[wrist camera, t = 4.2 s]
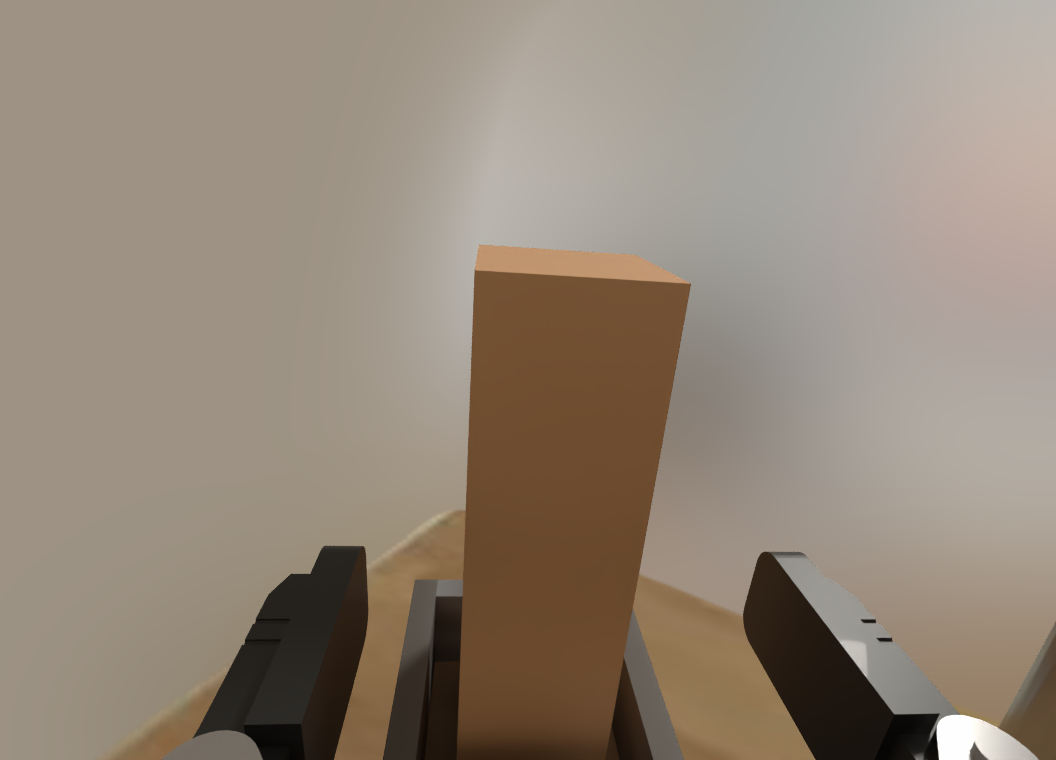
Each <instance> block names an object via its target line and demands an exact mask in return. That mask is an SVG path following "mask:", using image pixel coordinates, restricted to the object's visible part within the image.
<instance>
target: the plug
mask: <svg viewBox="0 0 1056 760" xmlns="http://www.w3.org/2000/svg"><path fill="white" fill-rule="evenodd" d="M690 286H691V284H690V283H688V282H687V281H685V280H683V279H681V278H679V277H677V276H675V275H673V274H671V273H669V272H667V271H665V270H663V269H661V268H660V267H658V266H656V265H654V264H652V263H650V262H648V261H646V260H644V259H642V258H640V257H638V256H636V255H626V254H610V253H595V252H580V251H566V250H550V249H536V248H520V247H506V246H491V245H479V248H478V254H477V261H476V266H475V277H474V304H473V332H472V358H471V385H470V386H471V387H470V413H469V438H468V466H467V492H466V519H465V546H464V573H463V600H462V627H461V654H460V681H459V707H458V734H457V760H605V759H606V753H607V747H608V742H609V736H610V731H611V725H612V720H613V714H614V709H615V703H616V697H617V692H618V686H619V681H620V675H621V670H622V664H623V659H624V653H625V647H626V642H627V636H628V631H629V625H630V620H631V614H632V609H633V603H634V597H635V592H636V586H637V581H638V575H639V570H640V564H641V559H642V553H643V547H644V542H645V536H646V531H647V525H648V520H649V514H650V509H651V503H652V497H653V492H654V486H655V480H656V475H657V470H658V464H659V458H660V452H661V448H662V442H663V436H664V431H665V424H666V420H667V414H668V409H669V403H670V398H671V392H672V386H673V381H674V375H675V370H676V364H677V359H678V353H679V348H680V342H681V336H682V331H683V325H684V320H685V314H686V309H687V303H688V297H689V292H690Z"/></svg>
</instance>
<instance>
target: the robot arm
mask: <svg viewBox="0 0 1056 760" xmlns="http://www.w3.org/2000/svg"><path fill="white" fill-rule="evenodd" d="M743 621H744V628H745V632H746V636H747V638H748V641H749V643H750V645H751V646H752V648H753V650H754V652H755V653H756V655H757V657H758V659H759V661H760V662H761V664H762V666H763V668H764V669H765V671H766V673H767V675H768V676H769V678H770V680H771V682H772V683H773V685H774V687H775V689H776V691H777V692H778V694H779V696H780V698H781V699H782V701H783V703H784V705H785V706H786V708H787V710H788V712H789V713H790V715H791V717H792V719H793V721H794V722H795V724H796V726H797V728H798V729H799V731H800V733H801V735H802V736H803V738H804V740H805V742H806V743H807V745H808V747H809V749H810V750H811V752H812V754H813V756H814V758H815V759H816V760H1056V622H1055V624H1054V626H1053V628H1052V630H1051V631H1050V633H1049V635H1048V637H1047V639H1046V641H1045V643H1044V644H1043V646H1042V648H1041V650H1040V652H1039V654H1038V655H1037V657H1036V659H1035V661H1034V663H1033V665H1032V667H1031V668H1030V670H1029V672H1028V674H1027V676H1026V678H1025V679H1024V681H1023V683H1022V685H1021V687H1020V689H1019V690H1018V692H1017V694H1016V696H1015V698H1014V700H1013V702H1012V704H1011V705H1010V707H1009V709H1008V711H1007V713H1006V715H1005V716H1004V718H1003V720H1002V722H1001V724H1000V725H999V727H998V728H997V727H995V726H993V725H991V724H989V723H986V722H984V721H981V720H979V719H976V718H972V717H969V716H963V715H960V714H959V713H958V712H957V711H956V709H955V708H954V707H953V706H952V705H951V704H950V703H949V702H948V700H947V699H946V698H945V697H944V696H943V695H942V694H941V693H940V691H939V690H938V689H937V688H936V687H935V686H934V685H933V683H932V682H931V681H930V680H929V679H928V678H927V677H926V676H925V675H924V673H923V672H922V671H921V670H920V669H919V668H918V666H917V665H915V663H914V662H913V661H912V660H911V659H910V657H908V655H907V654H906V653H905V652H904V651H903V650H902V649H901V647H900V646H899V645H898V644H897V643H893V641H892V637H891V636H890V635H889V634H888V632H887V631H886V630H885V629H884V628H883V627H882V626H881V625H880V624H877V623H876V619H875V618H874V617H873V616H872V614H871V613H870V612H869V611H868V610H867V609H866V608H865V606H864V605H863V604H862V603H861V602H860V601H859V600H858V599H857V597H855V596H854V595H852V594H851V593H850V592H848V591H847V590H846V589H844V588H843V587H841V586H840V585H838V584H837V583H836V582H835V581H833V580H832V579H830V578H825V577H824V576H823V575H822V573H821V572H820V571H819V570H818V569H817V568H816V566H815V565H814V564H813V563H812V562H811V561H810V559H809V558H808V557H807V556H806V555H804V554H803V553H801V552H763V553H761V555H760V556H759V558H758V560H757V563H756V567H755V571H754V574H753V578H752V581H751V585H750V589H749V593H748V596H747V600H746V603H745V607H744V613H743ZM367 622H368V592H367V569H366V553H365V548H364V547H363V546H324V547H323V548H322V550H321V551H320V553H319V556H318V558H317V560H316V562H315V565H314V567H313V569H312V571H311V574H291V575H289V576H288V577H287V578H286V579H285V580H284V581H283V582H282V583H281V584H279V585H278V586H277V587H276V588H275V589H274V590H273V591H272V592H271V593H270V594H269V595H268V597H267V598H266V600H265V602H264V604H263V607H262V608H261V610H260V612H259V614H258V616H257V618H256V622H255V624H253V625H252V627H251V629H250V631H249V633H248V635H247V637H246V639H245V644H244V645H242V646H241V648H240V650H239V652H238V654H237V656H236V658H235V660H234V662H233V664H232V666H231V667H230V669H229V671H228V673H227V675H226V677H225V679H224V681H223V683H222V685H221V687H220V689H219V691H218V692H217V694H216V696H215V698H214V700H213V702H212V704H211V706H210V708H209V710H208V712H207V714H206V715H205V717H204V719H203V721H202V723H201V725H200V727H199V729H198V730H197V732H196V734H195V735H194V737H193V738H192V739H191V740H188V741H186V742H185V743H183V744H181V745H180V746H178V747H176V748H175V749H174V750H172V751H171V752H170V753H168V754H167V755H166V756H165V757H164V758H163V759H162V760H334V757H335V753H336V749H337V745H338V741H339V738H340V734H341V730H342V726H343V722H344V719H345V715H346V711H347V707H348V703H349V699H350V696H351V692H352V688H353V684H354V680H355V676H356V673H357V669H358V665H359V661H360V657H361V653H362V650H363V646H364V642H365V637H366V630H367Z"/></svg>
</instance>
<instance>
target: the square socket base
mask: <svg viewBox="0 0 1056 760" xmlns="http://www.w3.org/2000/svg"><path fill="white" fill-rule="evenodd" d="M462 600H463V580H415V584H414V589H413V595H412V600H411V606H410V612H409V617H408V623H407V628H406V634H405V639H404V645H403V650H402V656H401V662H400V667H399V673H398V678H397V684H396V689H395V695H394V700H393V706H392V712H391V717H390V723H389V728H388V734H387V739H386V745H385V750H384V756H383V760H457V734H458V707H459V681H460V654H461V627H462ZM605 760H684V758H683V755H682V752H681V749H680V746H679V743H678V741H677V738H676V735H675V732H674V729H673V726H672V723H671V720H670V717H669V714H668V711H667V708H666V705H665V702H664V699H663V696H662V693H661V690H660V687H659V685H658V682H657V679H656V676H655V673H654V670H653V667H652V664H651V661H650V658H649V655H648V652H647V649H646V646H645V643H644V640H643V637H642V634H641V631H640V629H639V626H638V623H637V620H636V617H635V614H634V611H633V609H632V614H631V620H630V625H629V631H628V636H627V642H626V647H625V653H624V659H623V664H622V670H621V675H620V681H619V686H618V692H617V697H616V703H615V709H614V714H613V720H612V725H611V731H610V736H609V742H608V747H607V753H606V759H605Z"/></svg>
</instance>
